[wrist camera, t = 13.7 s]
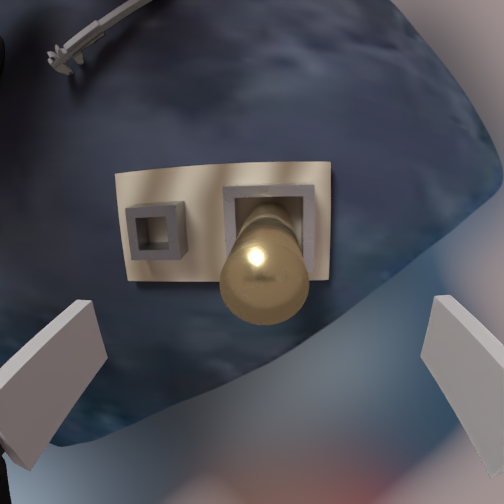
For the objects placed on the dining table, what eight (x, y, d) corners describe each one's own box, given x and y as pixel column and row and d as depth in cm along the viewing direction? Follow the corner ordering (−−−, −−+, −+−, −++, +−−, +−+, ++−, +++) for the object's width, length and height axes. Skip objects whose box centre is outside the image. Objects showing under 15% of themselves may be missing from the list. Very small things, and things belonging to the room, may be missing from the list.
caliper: (72, 76, 29) (41, 67, 22) (69, 71, 28) (38, 61, 22) (207, -29, 24) (195, -57, 18) (202, -33, 24) (190, -61, 18)
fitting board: (327, 161, 30) (336, 162, 26) (326, 274, 33) (333, 291, 29) (121, 173, 31) (101, 175, 27) (133, 276, 35) (116, 291, 31)
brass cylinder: (245, 201, 30) (216, 242, 15) (291, 201, 30) (310, 241, 14) (247, 245, 31) (222, 324, 16) (291, 245, 31) (307, 324, 16)
